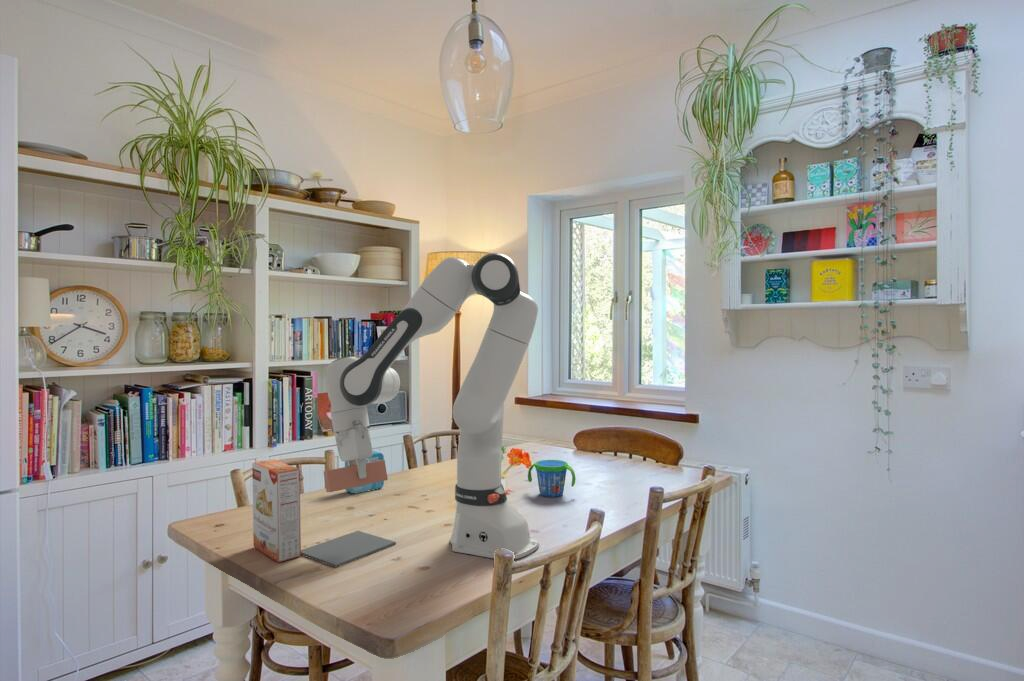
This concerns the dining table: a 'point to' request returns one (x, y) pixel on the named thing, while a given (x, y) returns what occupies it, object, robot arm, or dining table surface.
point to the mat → (346, 548)
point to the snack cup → (551, 476)
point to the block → (354, 476)
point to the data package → (375, 457)
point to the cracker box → (276, 509)
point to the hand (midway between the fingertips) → (359, 478)
